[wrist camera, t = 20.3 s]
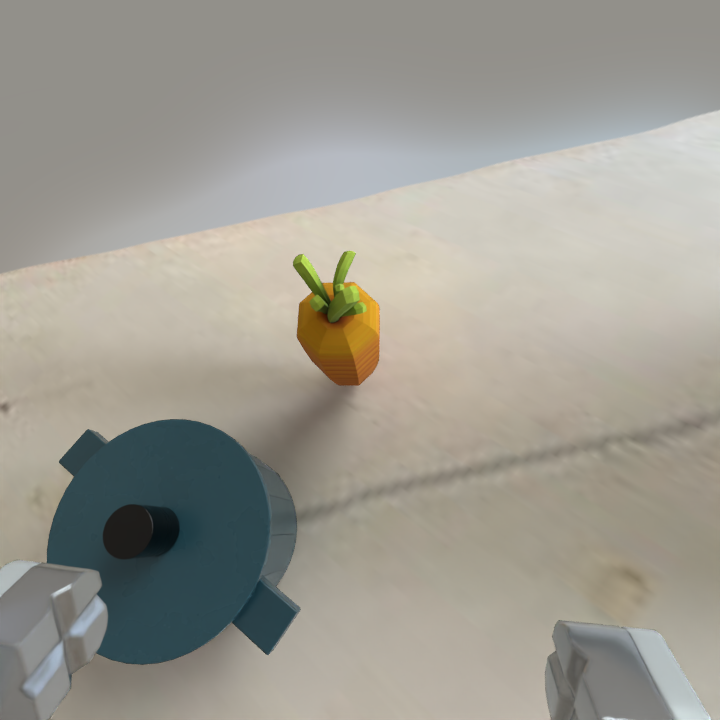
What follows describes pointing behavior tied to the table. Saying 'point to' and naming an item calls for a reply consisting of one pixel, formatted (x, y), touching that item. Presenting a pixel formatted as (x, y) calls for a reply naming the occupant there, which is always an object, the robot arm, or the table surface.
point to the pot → (267, 604)
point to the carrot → (338, 324)
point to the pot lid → (166, 536)
